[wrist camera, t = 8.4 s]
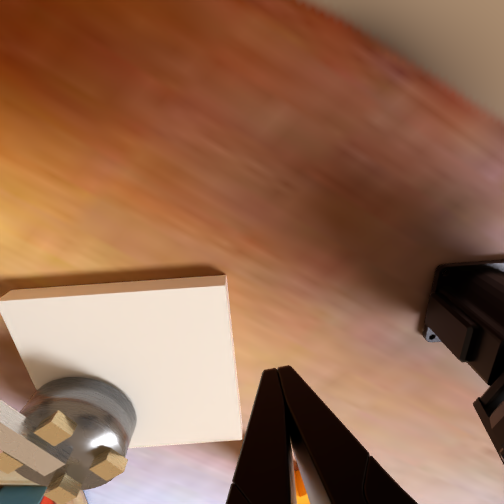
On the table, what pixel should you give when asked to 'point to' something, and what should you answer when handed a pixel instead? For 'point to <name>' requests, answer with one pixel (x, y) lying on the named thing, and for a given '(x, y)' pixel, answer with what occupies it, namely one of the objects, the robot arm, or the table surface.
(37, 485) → the wooden puzzle
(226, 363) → the cap plate
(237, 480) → the robot arm
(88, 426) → the dark cylinder with bar
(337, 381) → the table surface
